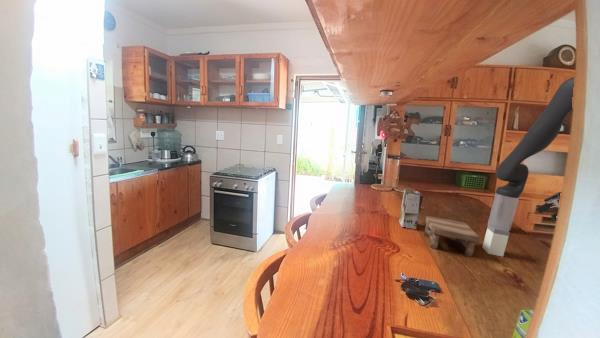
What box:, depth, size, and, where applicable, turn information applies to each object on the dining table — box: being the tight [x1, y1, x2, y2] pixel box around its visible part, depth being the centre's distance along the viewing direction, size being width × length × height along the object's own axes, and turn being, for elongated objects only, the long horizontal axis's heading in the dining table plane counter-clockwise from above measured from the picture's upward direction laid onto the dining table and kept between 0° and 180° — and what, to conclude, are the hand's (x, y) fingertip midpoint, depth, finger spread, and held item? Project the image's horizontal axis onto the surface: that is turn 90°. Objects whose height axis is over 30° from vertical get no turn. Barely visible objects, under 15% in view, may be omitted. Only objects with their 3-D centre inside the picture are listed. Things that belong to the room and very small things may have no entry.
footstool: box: [423, 215, 480, 258], centre depth 103 cm, size 15×15×8 cm
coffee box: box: [398, 188, 424, 230], centre depth 119 cm, size 9×6×16 cm
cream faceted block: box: [482, 223, 511, 257], centre depth 101 cm, size 6×5×10 cm
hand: (545, 214), depth 95 cm, fingers open, 8 cm apart
